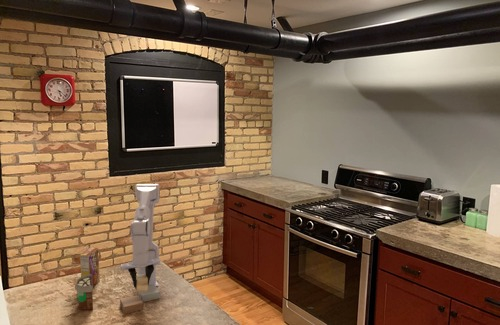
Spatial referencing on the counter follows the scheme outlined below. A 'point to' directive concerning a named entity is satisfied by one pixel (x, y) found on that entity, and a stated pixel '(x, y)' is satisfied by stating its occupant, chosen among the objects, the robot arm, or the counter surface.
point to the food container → (85, 292)
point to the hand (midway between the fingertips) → (141, 285)
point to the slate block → (149, 294)
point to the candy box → (90, 264)
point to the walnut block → (131, 304)
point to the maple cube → (141, 283)
